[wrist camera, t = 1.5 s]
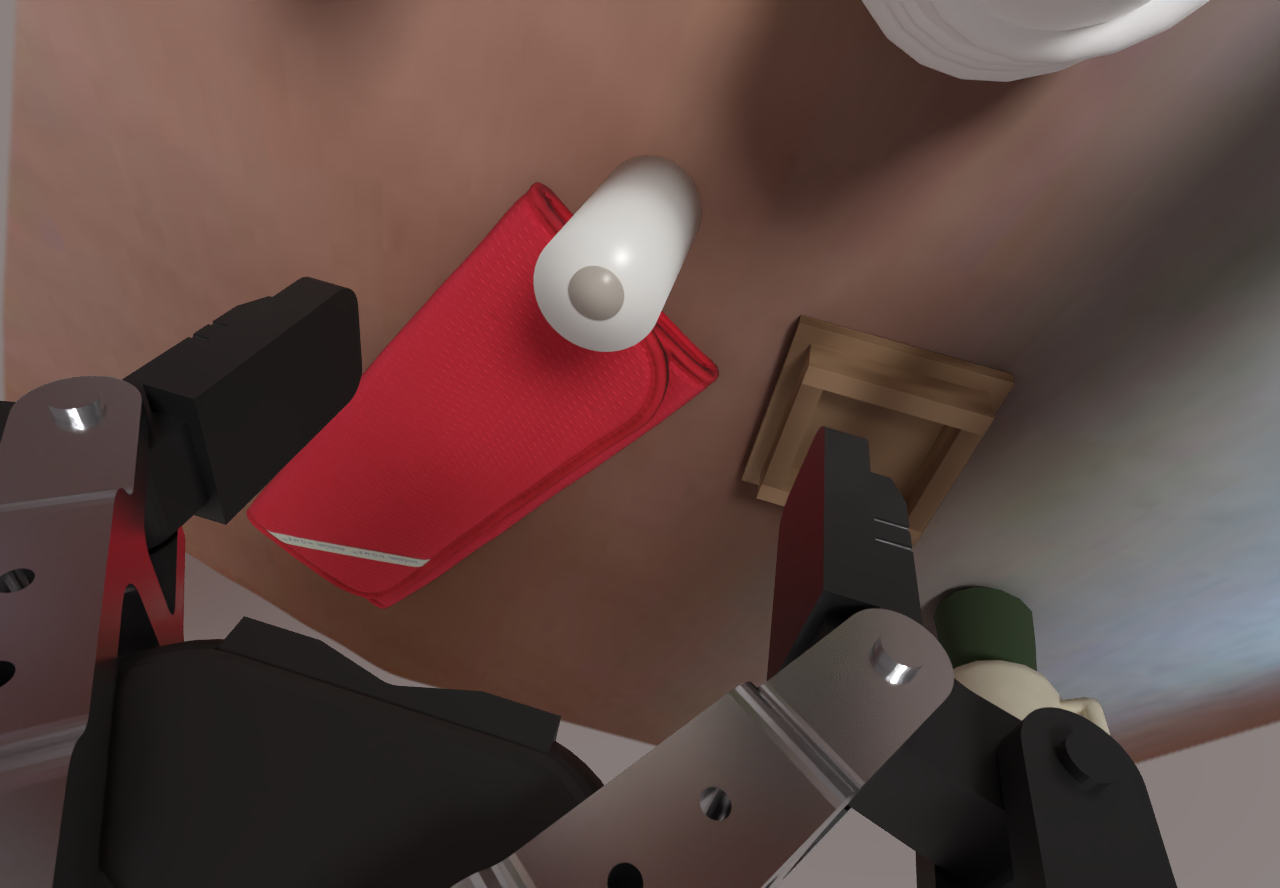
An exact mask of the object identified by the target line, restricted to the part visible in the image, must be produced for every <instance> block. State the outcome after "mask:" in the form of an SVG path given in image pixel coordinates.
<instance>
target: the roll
mask: <svg viewBox="0 0 1280 888" xmlns="http://www.w3.org/2000/svg"><path fill="white" fill-rule="evenodd" d="M701 216H702V205H701V199H700V195H699V192H698V189H697V187H696V185H695V183H694V181H693V180H692V178H691V177H690V176H689V175H688V173H687V172H686V171H685V170H684V169H682V168H681V167H680V166H679V165H677V164H676V163H674V162H672V161H670V160H668V159H666V158H662V157H659V156H650V155H646V156H638V157H634V158H632V159H629V160H627V161H625V162H624V163H622V164H621V165H619V166H618V167H617V168H616V169H615V170H614V171H613V172H612V173H611V174H610V175H609V176H608V178H607V179H606V180H605V181H604V182H603V183H602V184H601V185H600V186H599V188H598V189H597V190H596V191H595V192H594V193H593V194H592V195H591V196H590V198H589V199H588V200H587V201H586V202H585V203H584V204H583V205H582V206H581V208H580V209H579V210H578V211H577V212H576V213H575V214H574V215H573V216H572V218H571V219H570V220H569V221H568V222H567V223H566V224H565V225H564V226H563V228H562V229H561V230H560V231H559V232H558V233H557V234H556V235H555V236H554V238H553V239H552V240H551V241H550V242H549V243H548V244H547V245H546V246H545V248H544V249H543V251H542V252H541V254H540V256H539V258H538V260H537V263H536V266H535V270H534V282H533V284H534V292H535V296H536V300H537V303H538V306H539V308H540V310H541V312H542V314H543V316H544V317H545V318H546V320H547V321H548V323H549V324H550V325H551V326H552V327H553V329H555V330H556V331H557V332H558V333H559V334H560V335H561V336H563V337H564V338H565V339H567V340H568V341H570V342H572V343H573V344H576V345H578V346H580V347H583V348H586V349H589V350H593V351H600V352H613V351H620V350H623V349H627V348H629V347H631V346H634V345H635V344H637V343H639V342H640V341H641V340H643V339H644V338H645V337H646V336H647V335H648V334H649V333H650V332H651V330H652V329H653V327H654V326H655V324H656V322H657V320H658V318H659V315H660V313H661V311H662V309H663V307H664V304H665V302H666V300H667V298H668V295H669V293H670V291H671V289H672V287H673V284H674V282H675V280H676V278H677V275H678V273H679V271H680V269H681V267H682V264H683V262H684V260H685V258H686V255H687V253H688V251H689V249H690V247H691V244H692V242H693V240H694V238H695V235H696V233H697V231H698V229H699V226H700V222H701Z"/></svg>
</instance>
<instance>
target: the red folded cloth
mask: <svg viewBox="0 0 1280 888" xmlns="http://www.w3.org/2000/svg"><path fill="white" fill-rule="evenodd" d="M572 216H573V214H572V213H571V212H570V211H569V210H568V208H567V207H566V206H565V205H564V204H563V203H562V202H561V200H560V199H559V198H558V197H557V196H556V195H555V194H554V192H553V191H552V190H551V189H549V188H548V187H547V186H545V185H543V184H541V183H539V182H537V183H534V184H533V185H532V186H531V187H530V189H529V190H528V191H527V193H526V194H524V195H523V196H522V197H520V198H519V199H518V200H517V201H516V202H515V203H514V204H513V206H512V207H511V208H510V209H509V210H508V211H507V212H506V213H505V214H504V216H503V217H502V218H501V219H500V220H499V222H498V223H497V224H496V225H495V226H494V228H493V229H492V230H491V231H490V232H489V233H488V235H487V236H486V237H485V238H484V239H483V241H482V242H481V243H480V244H479V245H478V246H477V247H476V249H475V250H474V251H473V252H472V253H471V254H470V255H469V256H468V257H467V258H466V259H465V261H464V262H463V263H462V264H461V265H460V266H459V267H458V268H457V269H456V270H455V271H454V272H453V273H452V274H451V275H450V276H449V277H448V279H447V280H446V281H445V282H444V283H443V284H442V285H441V286H440V287H439V288H438V289H437V290H436V292H435V293H434V294H433V295H432V296H431V297H430V298H429V300H428V301H427V302H426V303H425V304H424V305H423V306H422V307H421V309H420V310H419V311H418V312H417V313H416V314H415V315H414V316H413V317H412V318H411V320H410V321H409V322H408V323H407V324H406V325H405V326H404V327H403V328H402V330H401V331H400V332H399V333H398V334H397V335H396V337H395V338H394V339H393V340H392V341H391V342H390V343H389V344H388V345H387V346H386V347H385V349H384V350H383V351H382V352H381V353H380V354H379V356H378V357H377V358H376V359H375V361H374V362H373V363H372V364H371V365H370V367H369V368H368V369H367V370H366V371H365V372H364V373H363V375H362V376H361V380H360V384H359V386H358V389H357V391H356V393H355V395H354V397H353V398H352V400H351V401H350V402H349V403H348V404H347V405H346V406H345V407H344V408H343V409H342V410H341V411H340V412H339V413H338V414H337V415H336V416H335V417H334V418H333V419H332V420H331V421H330V422H329V423H328V424H327V425H326V426H325V427H324V428H323V429H322V430H321V431H320V432H319V433H318V434H317V435H316V436H315V437H314V438H313V439H312V440H311V441H310V442H309V443H308V444H307V445H306V446H305V447H304V448H303V449H302V450H301V451H300V452H299V453H298V454H297V455H296V456H295V457H294V458H293V459H292V460H291V461H290V462H289V463H288V464H287V465H286V466H285V467H284V468H283V469H282V470H281V471H280V472H279V473H278V474H277V475H276V476H275V477H274V478H273V479H272V480H271V481H270V482H269V483H268V485H267V486H266V487H265V488H264V489H263V490H262V492H261V493H260V494H259V496H258V497H257V498H256V499H255V500H254V502H253V503H252V504H251V506H250V507H249V509H248V510H247V514H246V515H247V517H248V519H249V520H250V522H251V523H252V524H253V525H254V526H255V527H256V528H257V529H258V530H259V531H260V532H262V533H263V534H264V535H266V536H267V537H268V538H270V539H271V540H273V541H274V542H275V543H276V544H278V545H279V546H280V547H282V548H283V549H284V550H286V551H287V552H288V553H289V554H291V555H292V556H293V557H295V558H296V559H298V560H299V561H300V562H302V563H303V564H305V565H306V566H308V567H309V568H310V569H312V570H313V571H314V572H316V573H317V574H319V575H320V576H321V577H323V578H324V579H326V580H328V581H329V582H330V583H332V584H334V585H335V586H337V587H339V588H341V589H342V590H345V591H347V592H349V593H352V594H354V595H357V596H360V597H364V598H366V599H367V600H369V601H370V602H371V603H372V604H374V605H375V606H377V607H379V608H384V609H385V608H388V607H389V606H391V605H393V604H395V603H397V602H399V601H400V600H402V599H403V598H405V597H407V596H408V595H410V594H411V593H413V592H414V591H416V590H418V589H420V588H421V587H423V586H425V585H426V584H428V583H430V582H431V581H432V580H434V579H435V578H437V577H438V576H440V575H442V574H443V573H444V572H446V571H447V570H449V569H450V568H451V567H453V566H454V565H456V564H457V563H458V562H460V561H461V560H463V559H464V558H465V557H467V556H468V555H469V554H471V553H472V552H474V551H475V550H477V549H478V548H480V547H481V546H483V545H484V544H486V543H487V542H489V541H490V540H492V539H494V538H495V537H497V536H498V535H500V534H501V533H503V532H504V531H505V530H507V529H508V528H510V527H511V526H512V525H514V524H515V523H516V522H518V521H519V520H520V519H522V518H523V517H524V516H526V515H527V514H529V513H530V512H531V511H533V510H534V509H536V508H537V507H538V506H540V505H541V504H542V503H544V502H545V501H547V500H548V499H550V498H551V497H552V496H554V495H555V494H557V493H558V492H560V491H561V490H563V489H564V488H565V487H567V486H569V485H570V484H572V483H573V482H575V481H576V480H578V479H579V478H581V477H582V476H584V475H585V474H587V473H588V472H590V471H591V470H593V469H594V468H596V467H597V466H599V465H600V464H602V463H603V462H605V461H606V460H608V459H609V458H610V457H612V456H613V455H615V454H616V453H618V452H619V451H620V450H622V449H623V448H625V447H626V446H627V445H629V444H630V443H632V442H633V441H635V440H636V439H638V438H639V437H641V436H642V435H643V434H645V433H646V432H648V431H649V430H650V429H652V428H653V427H655V426H656V425H658V424H659V423H660V422H662V421H663V420H664V419H665V418H667V417H668V416H670V415H671V414H672V413H674V412H675V411H676V410H678V409H679V408H680V407H682V406H683V405H685V404H686V403H687V402H689V401H690V400H691V399H692V398H693V397H695V396H697V395H698V394H699V393H700V392H702V391H703V390H704V389H705V388H707V387H708V386H709V385H710V384H711V383H712V382H714V381H716V380H717V378H718V376H719V371H718V367H717V366H716V364H714V363H713V361H712V360H711V359H709V358H708V357H707V356H706V355H705V354H703V353H702V352H701V351H700V350H699V349H698V348H697V347H696V346H695V345H694V344H693V343H692V342H691V341H690V340H689V339H688V338H687V337H686V336H685V335H684V334H683V333H682V332H681V331H680V330H679V328H678V327H677V326H676V325H675V324H674V323H673V322H672V321H671V320H670V319H669V318H668V317H667V316H666V315H665V314H664V313H663V312H662V311H661V313H660V315H659V318H658V320H657V322H656V324H655V326H654V327H653V329H652V330H651V332H650V333H649V334H648V335H647V336H646V337H645V338H644V339H643V340H641V341H640V342H639V343H637V344H635V345H634V346H631V347H629V348H627V349H623V350H620V351H613V352H600V351H593V350H589V349H586V348H583V347H580V346H578V345H576V344H573V343H572V342H570V341H568V340H567V339H565V338H564V337H563V336H561V335H560V334H559V333H558V332H557V331H556V330H555V329H553V327H552V326H551V325H550V324H549V323H548V321H547V320H546V318H545V317H544V316H543V314H542V312H541V310H540V308H539V306H538V303H537V300H536V296H535V292H534V284H533V282H534V270H535V266H536V263H537V260H538V258H539V256H540V254H541V252H542V251H543V249H544V248H545V246H546V245H547V244H548V243H549V242H550V241H551V240H552V239H553V238H554V236H555V235H556V234H557V233H558V232H559V231H560V230H561V229H562V228H563V226H564V225H565V224H566V223H567V222H568V221H569V220H570V219H571V218H572Z"/></svg>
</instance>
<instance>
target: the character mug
mask: <svg viewBox="0 0 1280 888" xmlns="http://www.w3.org/2000/svg"><path fill="white" fill-rule="evenodd" d="M934 620H935V625H936V630H937V634H938V638H939V642H940V644H941V645H942V647H943V648H944V650H945V651H946V653H947V655H948V657H949V659H950V661H951V664H952V668H953V673H954V678H955V679H956V680H957V681H959V682H960V683H961V684H962V685H964V686H965V687H966V688H968V689H969V690H971V691H973V692H974V693H976V694H977V695H979V696H981V697H982V698H984V699H986V700H987V701H989V702H991V703H993V704H994V705H996V706H998V707H999V708H1001V709H1003V710H1004V711H1006V712H1008V713H1010V714H1011V715H1013V716H1015V717H1016V718H1018V719H1020V720H1023V719H1024V718H1025V717H1026V716H1027V715H1028V714H1029V713H1031V712H1032V711H1034V710H1036V709H1039V708H1044V707H1054V708H1061V709H1064V710H1068V711H1071V712H1073V713H1076V714H1078V715H1081V716H1085V718H1086V719H1088V720H1090V721H1091V722H1093V723H1094V724H1096V725H1097V726H1099V727H1100V728H1102V729H1103V730H1104V731H1105V732H1106V733H1108V734H1109V735H1110V733H1109V730H1108V726H1107V723H1106V720H1105V717H1104V714H1103V710H1102V707H1101V705H1100V704H1099V703H1098V702H1097V700H1095V699H1093V698H1086V697H1082V698H1075V699H1067V700H1062V699H1061V696H1060V695H1059V694H1058V693H1057V691H1056V690H1055V689H1054V688H1053V686H1052V685H1051V684H1050V683H1049V681H1048V680H1047V679H1046V678H1045V677H1044V675H1043V674H1041V673H1039V672H1037V665H1036V646H1035V636H1034V627H1033V618H1032V611H1031V610H1030V609H1029V608H1028V607H1027V606H1026V605H1025V604H1024V603H1023V602H1022V601H1021V600H1020V599H1019V598H1017V597H1014V596H1012V595H1010V594H1008V593H1006V592H1004V591H1002V590H998V589H991V588H983V587H973V588H969V589H964V590H959V591H956V592H954V593H953V594H951V595H950V596H949V597H947V598H946V599H944V600H943V601H942V602H940V604H939V607H938V609H937V611H936V613H935V615H934Z"/></svg>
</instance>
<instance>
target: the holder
mask: <svg viewBox="0 0 1280 888" xmlns="http://www.w3.org/2000/svg"><path fill="white" fill-rule="evenodd" d="M1014 385H1015V381H1014V378H1013V376H1012V374H1010V373H1006V372H1003V371H999V370H995V369H992V368H988V367H985V366H981V365H978V364H974V363H970V362H967V361H963V360H960V359H956V358H953V357H949V356H945V355H942V354H938V353H935V352H931V351H928V350H924V349H920V348H917V347H913V346H910V345H906V344H903V343H899V342H895V341H892V340H888V339H885V338H881V337H878V336H874V335H870V334H867V333H863V332H860V331H856V330H853V329H849V328H845V327H842V326H838V325H835V324H831V323H828V322H824V321H820V320H817V319H813V318H810V317H806V316H803V315H801V316H800V318H799V321H798V324H797V326H796V329H795V332H794V335H793V337H792V340H791V343H790V346H789V348H788V351H787V354H786V357H785V359H784V362H783V365H782V367H781V370H780V373H779V376H778V378H777V381H776V384H775V387H774V389H773V392H772V395H771V397H770V400H769V403H768V406H767V408H766V411H765V414H764V417H763V419H762V422H761V425H760V428H759V430H758V433H757V436H756V438H755V441H754V444H753V447H752V449H751V452H750V455H749V458H748V460H747V463H746V466H745V469H744V471H743V476H742V480H743V481H746V482H749V483H753V484H756V485H759V486H758V492H757V499H761V500H764V501H767V502H771V503H774V504H777V505H781V506H784V507H785V504H786V501H787V498H788V495H789V493H790V491H791V488H792V486H793V484H794V482H795V480H796V477H797V475H798V473H799V471H800V468H801V466H802V464H803V462H804V459H805V457H806V455H807V453H808V450H809V448H810V446H811V444H812V442H813V439H814V437H815V435H816V433H817V431H818V430H819V428H820V427H822V426H825V427H828V428H831V429H835V430H838V431H842V432H845V433H849V434H852V435H856V436H859V437H863V438H866V439H867V440H868V444H869V456H870V469H871V472H873V473H876V474H880V475H883V476H887V477H890V478H891V479H892V481H893V482H894V484H895V485H896V487H897V489H898V490H899V492H900V493H901V495H902V497H903V498H904V500H905V501H906V504H907V512H908V519H909V530H908V531H909V532H910V534H911V542H912V545H913V546H915V544H916V542H917V541H918V539H919V538H920V536H921V535H922V533H923V531H924V530H925V528H926V527H927V525H928V523H929V522H930V520H931V519H932V517H933V515H934V514H935V512H936V511H937V509H938V508H939V506H940V504H941V503H942V501H943V500H944V498H945V496H946V495H947V493H948V492H949V490H950V489H951V487H952V485H953V484H954V482H955V481H956V479H957V477H958V476H959V474H960V473H961V471H962V470H963V468H964V466H965V465H966V463H967V462H968V460H969V458H970V457H971V455H972V454H973V452H974V451H975V449H976V447H977V446H978V444H979V443H980V441H981V439H982V438H983V436H984V435H985V433H986V432H987V430H988V428H989V427H990V425H991V424H992V422H993V420H994V419H995V417H994V416H995V415H996V413H997V412H998V410H999V408H1000V407H1001V405H1002V404H1003V402H1004V401H1005V399H1006V397H1007V396H1008V394H1009V393H1010V391H1011V389H1012V388H1013V386H1014Z"/></svg>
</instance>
